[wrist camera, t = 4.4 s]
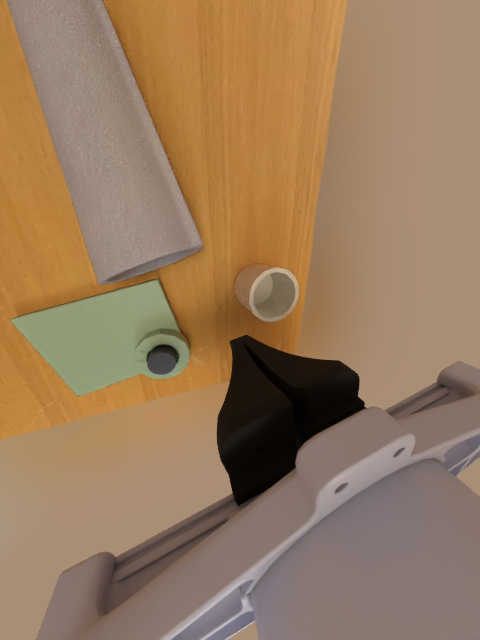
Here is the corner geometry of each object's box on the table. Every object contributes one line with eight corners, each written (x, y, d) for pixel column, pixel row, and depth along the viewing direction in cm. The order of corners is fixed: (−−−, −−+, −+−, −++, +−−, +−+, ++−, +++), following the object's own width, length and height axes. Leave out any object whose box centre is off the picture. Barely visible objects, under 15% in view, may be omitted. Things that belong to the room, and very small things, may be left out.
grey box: (-1424, -1820, 2) (73, 289, 11) (-402, -1283, 3) (205, 240, 12) (-155, -181, 9) (122, 282, 18) (18, -189, 10) (201, 252, 19)
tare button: (180, 361, 21) (180, 369, 19) (156, 370, 20) (154, 378, 19) (170, 341, 19) (170, 348, 18) (145, 350, 19) (142, 358, 18)
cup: (276, 299, 24) (301, 312, 19) (238, 312, 23) (254, 328, 18) (271, 258, 22) (297, 261, 17) (228, 270, 21) (243, 277, 16)
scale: (194, 356, 23) (196, 367, 21) (86, 396, 21) (74, 413, 19) (161, 277, 19) (159, 280, 17) (17, 316, 16) (-9, 326, 14)
